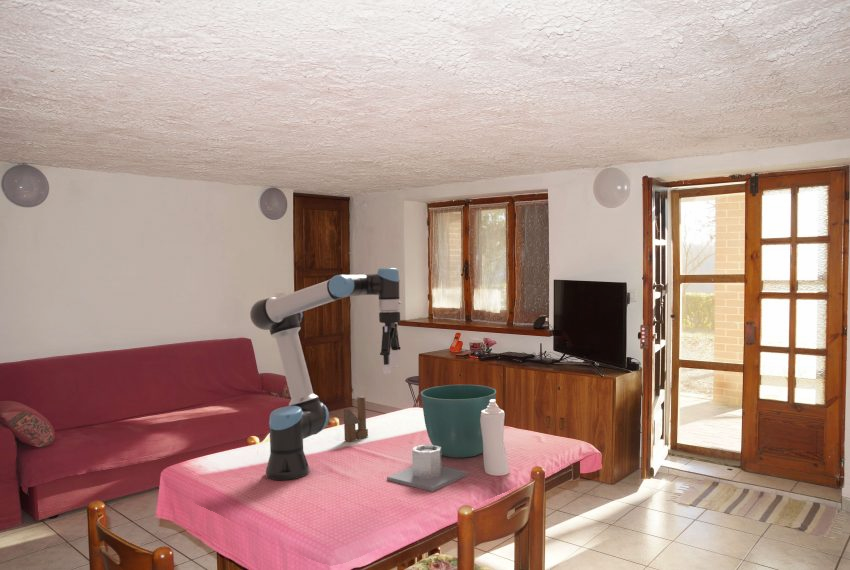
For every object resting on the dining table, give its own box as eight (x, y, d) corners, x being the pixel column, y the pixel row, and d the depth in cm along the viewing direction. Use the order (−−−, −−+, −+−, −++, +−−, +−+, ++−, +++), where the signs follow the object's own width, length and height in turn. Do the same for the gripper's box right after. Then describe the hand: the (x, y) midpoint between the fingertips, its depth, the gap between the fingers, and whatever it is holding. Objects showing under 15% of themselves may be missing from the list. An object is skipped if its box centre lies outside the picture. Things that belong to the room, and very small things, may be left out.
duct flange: (432, 491, 199) (431, 463, 199) (387, 480, 211) (386, 453, 211) (467, 475, 215) (467, 448, 214) (423, 465, 227) (422, 440, 227)
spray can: (473, 471, 219) (471, 401, 218) (489, 463, 227) (487, 396, 227) (501, 477, 212) (499, 404, 211) (516, 468, 220) (515, 399, 220)
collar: (411, 478, 209) (410, 452, 209) (416, 469, 218) (415, 444, 218) (439, 479, 208) (438, 452, 207) (442, 470, 217) (442, 444, 217)
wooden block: (344, 441, 264) (343, 399, 264) (362, 435, 272) (361, 395, 272) (350, 442, 262) (348, 400, 262) (368, 437, 270) (367, 396, 270)
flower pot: (459, 468, 222) (457, 402, 222) (407, 452, 245) (405, 392, 245) (513, 451, 242) (512, 390, 242) (460, 437, 265) (459, 382, 264)
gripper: (392, 313, 205) (394, 376, 205) (406, 309, 230) (407, 365, 230) (370, 313, 206) (372, 376, 207) (386, 309, 231) (388, 365, 231)
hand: (391, 370), depth 218 cm, fingers open, 13 cm apart
